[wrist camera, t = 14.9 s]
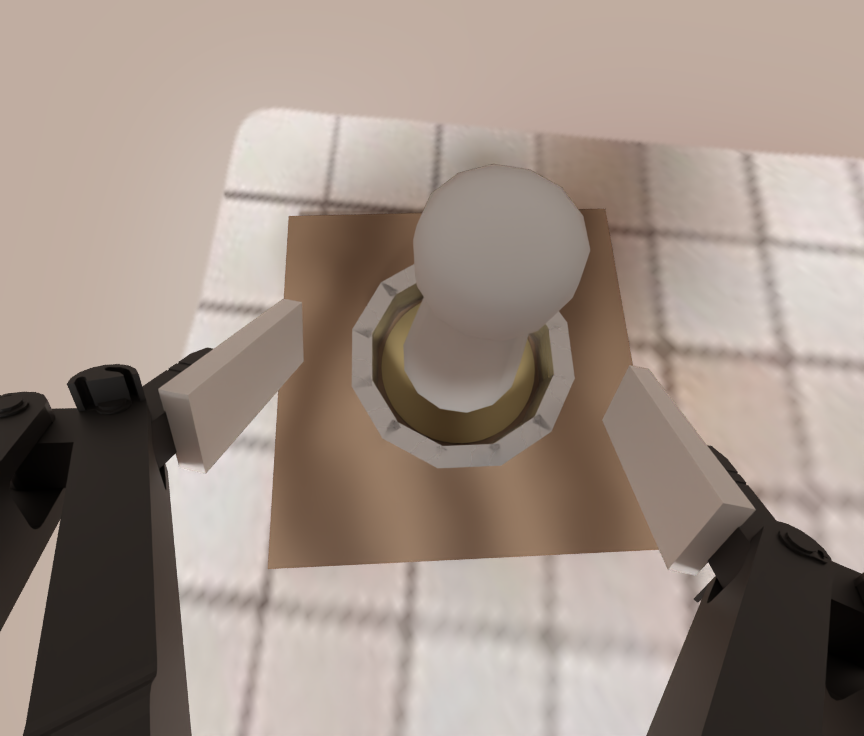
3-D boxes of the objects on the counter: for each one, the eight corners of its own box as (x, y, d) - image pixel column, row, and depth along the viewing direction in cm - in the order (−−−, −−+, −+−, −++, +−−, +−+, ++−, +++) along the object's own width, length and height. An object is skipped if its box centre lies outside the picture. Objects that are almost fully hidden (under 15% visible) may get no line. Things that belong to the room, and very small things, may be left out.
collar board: (596, 220, 25) (625, 180, 21) (651, 544, 20) (700, 562, 17) (295, 227, 24) (272, 187, 21) (277, 562, 20) (243, 585, 16)
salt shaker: (387, 346, 21) (331, 176, 8) (473, 300, 22) (540, 81, 9) (439, 438, 20) (464, 398, 7) (528, 385, 21) (691, 268, 8)
